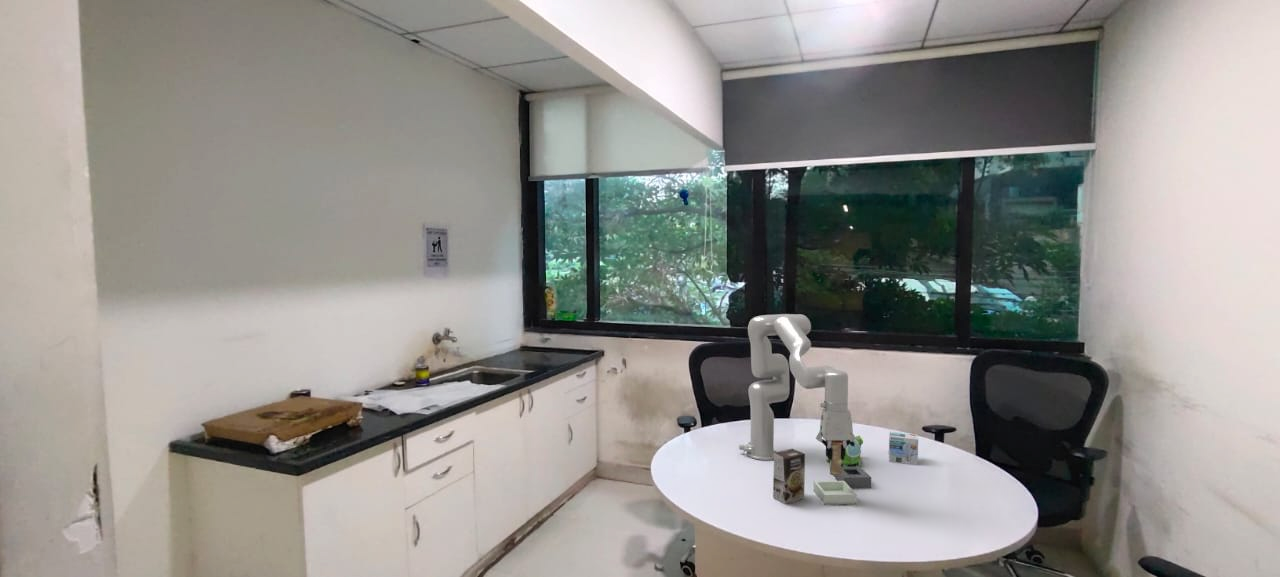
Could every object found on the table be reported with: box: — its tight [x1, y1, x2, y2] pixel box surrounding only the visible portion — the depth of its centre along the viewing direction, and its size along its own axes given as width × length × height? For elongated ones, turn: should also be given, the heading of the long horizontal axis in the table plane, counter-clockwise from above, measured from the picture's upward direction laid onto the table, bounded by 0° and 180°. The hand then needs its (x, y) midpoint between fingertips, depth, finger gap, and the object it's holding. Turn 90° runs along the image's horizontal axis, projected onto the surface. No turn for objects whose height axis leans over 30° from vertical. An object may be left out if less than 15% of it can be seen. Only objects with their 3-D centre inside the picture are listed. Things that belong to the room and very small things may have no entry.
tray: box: [813, 480, 858, 506], centre depth 191 cm, size 11×11×4 cm
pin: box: [829, 441, 842, 477], centre depth 190 cm, size 4×4×12 cm
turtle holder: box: [826, 435, 864, 467], centre depth 222 cm, size 12×18×12 cm
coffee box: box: [772, 448, 806, 505], centre depth 190 cm, size 9×6×16 cm
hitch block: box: [833, 465, 872, 489], centre depth 203 cm, size 10×10×4 cm
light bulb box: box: [888, 431, 919, 466], centre depth 223 cm, size 11×7×11 cm, turn 68°
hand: (835, 457), depth 190 cm, fingers closed on pin, 3 cm apart
